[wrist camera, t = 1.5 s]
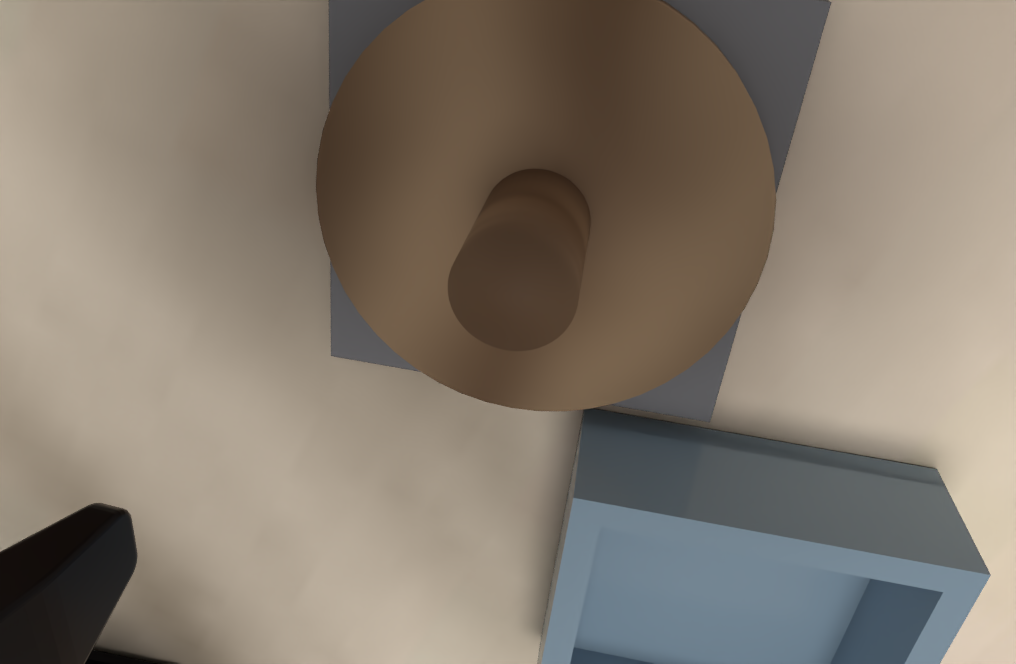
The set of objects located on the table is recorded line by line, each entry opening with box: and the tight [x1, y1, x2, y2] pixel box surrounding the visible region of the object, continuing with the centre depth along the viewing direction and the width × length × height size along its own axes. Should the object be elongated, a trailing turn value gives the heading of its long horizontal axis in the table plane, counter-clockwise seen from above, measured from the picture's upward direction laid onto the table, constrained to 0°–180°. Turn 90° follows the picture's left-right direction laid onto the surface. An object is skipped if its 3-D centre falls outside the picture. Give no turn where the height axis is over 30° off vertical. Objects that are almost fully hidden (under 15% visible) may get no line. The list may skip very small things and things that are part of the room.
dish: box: [537, 408, 991, 664], centre depth 23 cm, size 10×10×4 cm
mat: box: [329, 0, 831, 422], centre depth 20 cm, size 11×11×1 cm
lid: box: [316, 0, 776, 411], centre depth 18 cm, size 11×11×5 cm
